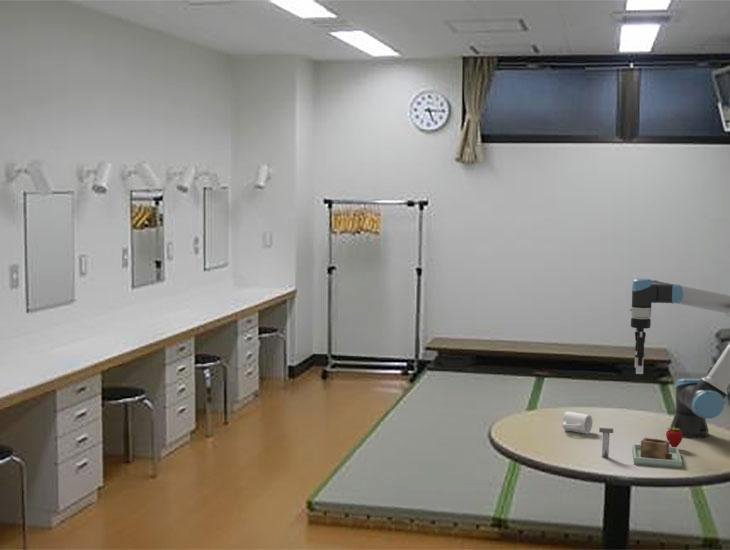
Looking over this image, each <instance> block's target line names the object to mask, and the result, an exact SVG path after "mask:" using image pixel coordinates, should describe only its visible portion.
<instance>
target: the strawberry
mask: <svg viewBox="0 0 730 550" xmlns="http://www.w3.org/2000/svg"><path fill="white" fill-rule="evenodd" d="M673 425H674V424H673ZM666 429H667V431H666V434H665V436H666V441H670V443H669V446H670V447H677V448H678V446H679V445H680V444H681V442H682V440H683V438H684V437H683V435H682V433H681V431H679V430H680V428H675V426H674V427H673V428H670V427H667V428H666Z"/></svg>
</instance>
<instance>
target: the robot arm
mask: <svg viewBox="0 0 730 550" xmlns="http://www.w3.org/2000/svg"><path fill="white" fill-rule="evenodd" d="M656 303H657V304H676V305H677V304H678V305H681V306H687V307H692V308H697V309H702V310H708V311H712V312H716V313H717V312H718V313H721V314H722V313H723V314H724V315H726V316H727V317H730V293H729V294H725V293H722V292H721V293H720V292H715V291H710V290H705V289H699V288H694V287H689V286H684V285H680V284H678V283H677V284H676V283H669V282H664V281H659V280H655V279H653V280H652V278H634V279H633V281H632V288H631V308H630V309H629V312H631V313H630V314H631V318H630V327H631V328H633V329H635V331H634V337H635V339H634V340H635V347H634V349H635V350H634V368H635V374H636V375H643V374H644V359H645V358H644V357H645V343H646V335H647V334H646V331H645V329H650V328H651V324H652V323H651V321H652V320H651V317H652V304H656ZM729 385H730V341H729V342H728V344H727V345H726V347H725V348H724V350H723V352H722V353H721V354H720V356H719V357H718V358H717V361H716V363H714V365H713V367H711V370H710V371H709V372H708V375H706V376H704V377H701V378H678V379H677V381H676V385H675V389H676V390H675V409H674V416H673V418H672V422H671V423H670V426H669V428H673V427H674V426H675V428H680V430H679V431H681V433H682V435H683V438H690V437H696V438H695V439H699V438H698V437H702V438H707V437H708V436H709V426H708V422H707V420H708V419H710V420H711V419H715V418H717V417H718V416H719V415H721V413H722V412H723V410H724V408H725V399H726V397H727V396H728V390H727V389H728V387H729ZM706 419H707V420H706ZM673 424H674V425H673Z"/></svg>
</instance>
